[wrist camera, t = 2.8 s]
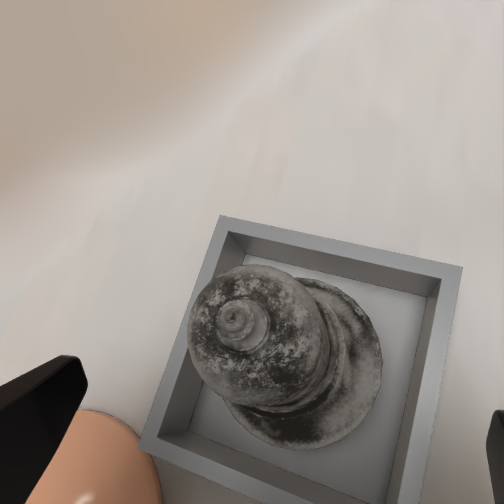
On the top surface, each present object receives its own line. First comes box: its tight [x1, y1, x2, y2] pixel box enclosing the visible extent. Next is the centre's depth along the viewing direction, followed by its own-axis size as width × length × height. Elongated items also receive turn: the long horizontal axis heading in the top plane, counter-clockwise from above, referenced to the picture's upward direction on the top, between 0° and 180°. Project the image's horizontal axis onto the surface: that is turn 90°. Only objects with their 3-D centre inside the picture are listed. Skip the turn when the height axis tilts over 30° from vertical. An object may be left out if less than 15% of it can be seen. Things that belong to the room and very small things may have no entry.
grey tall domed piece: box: [187, 264, 383, 450], centre depth 12 cm, size 6×6×12 cm
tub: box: [137, 215, 463, 504], centre depth 16 cm, size 10×10×3 cm
